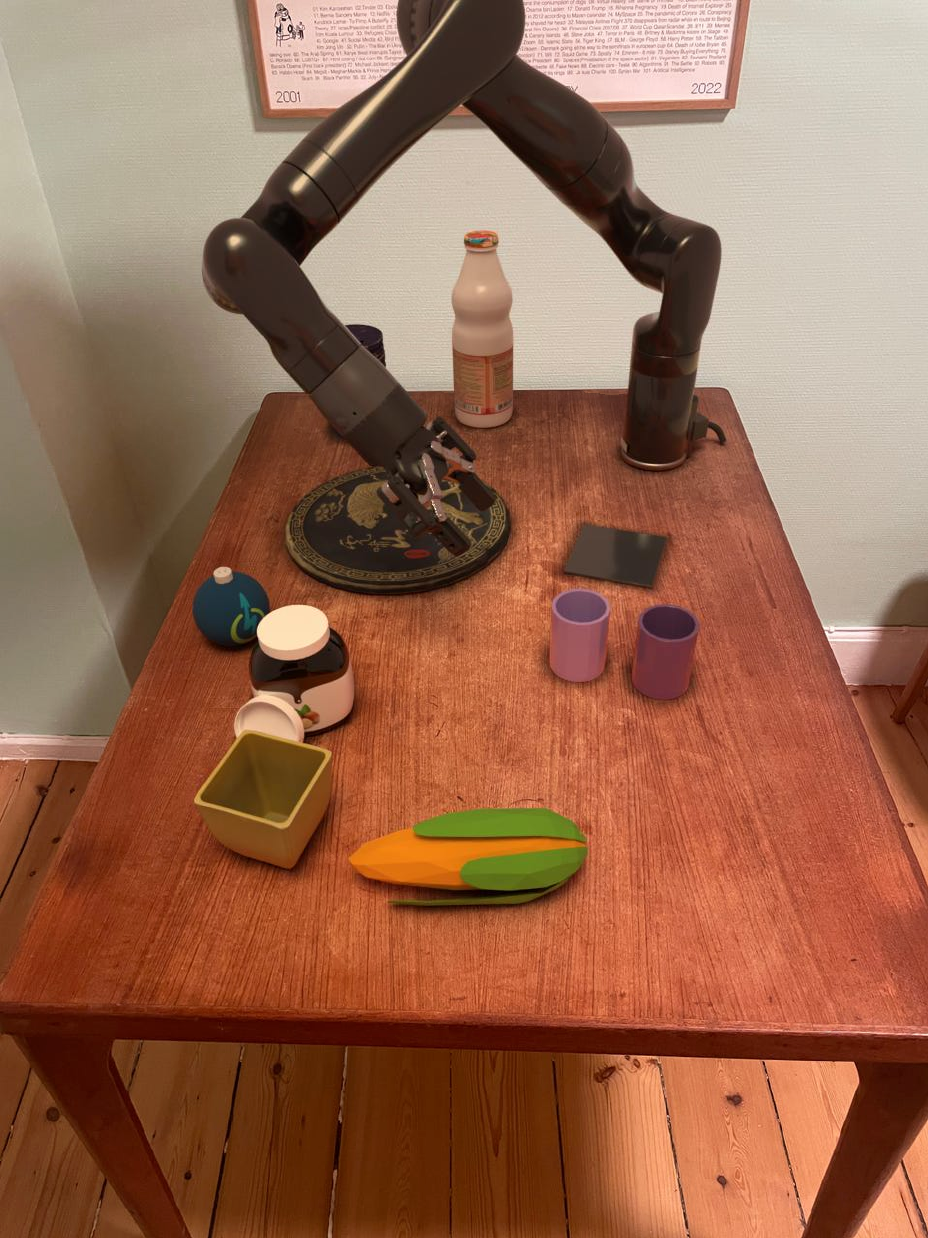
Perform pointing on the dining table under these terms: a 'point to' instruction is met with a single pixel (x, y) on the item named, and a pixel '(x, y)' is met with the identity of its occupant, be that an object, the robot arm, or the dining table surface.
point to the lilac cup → (579, 634)
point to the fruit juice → (482, 336)
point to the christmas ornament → (230, 607)
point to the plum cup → (664, 651)
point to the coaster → (616, 556)
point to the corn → (478, 854)
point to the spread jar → (297, 676)
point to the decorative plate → (387, 537)
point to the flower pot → (267, 797)
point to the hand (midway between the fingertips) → (477, 527)
